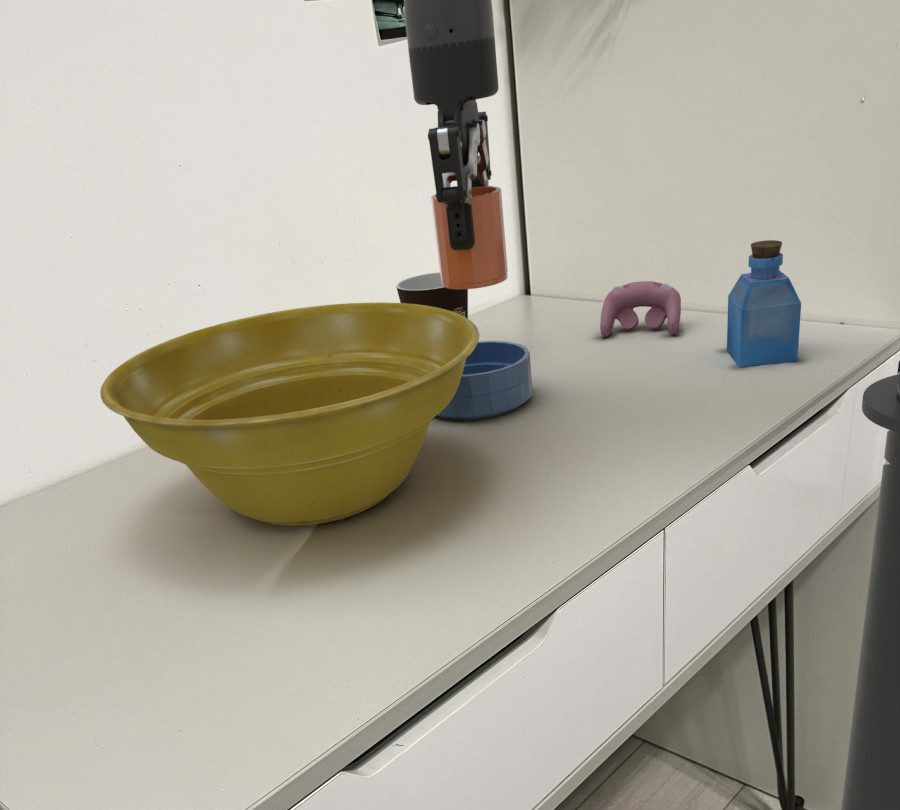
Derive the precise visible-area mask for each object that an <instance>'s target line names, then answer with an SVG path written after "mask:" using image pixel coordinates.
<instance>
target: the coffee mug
mask: <svg viewBox="0 0 900 810" xmlns="http://www.w3.org/2000/svg"><path fill="white" fill-rule="evenodd" d="M395 287H396V291H397V294H398V299H399V303H407V304H418V305H425V306H432V307H437V308H441V309H445V310H449V311H452V312H455V313H457V314H460V315H462V316H464V317H466V318H467V319H469V289H449V288H445V287H443V286H442V281H441V277H440V271H439V272H431V273H430V272H429V273H423V274H419V275H414V276H411V277H408V278H405V279H402V280H400V281H399V282H397V283H396V286H395Z"/></svg>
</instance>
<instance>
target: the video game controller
mask: <svg viewBox="0 0 900 810" xmlns="http://www.w3.org/2000/svg"><path fill="white" fill-rule="evenodd" d="M639 307H640V308H641V307H647V308H650V309H648V310H647V312H646V313H645V316H644V323H645V325H646V326H647V327H648V328H649V329H650V330H658V329H660V328H661V327H662V326H663V325H664V323H665V321H667V328H668V332H669V334H670V335H671V336H675V335H676V334H677V332H678V330H679V327H680V322H681V316H682V315H681V314H682V298H681V295H680V293H679V291H678V290H677V289H676V288H674V287H673V286H671V285H669V284H668V283H661V282H657V281H653V280H651V281H650V280H646V281H632V282H629V283H626V284H623V285H618V286H614V287H613V288H612V289H611V290H610V291H609V292H608V293H607V295H606V296H605V298H604V301H603V304H602V307H601V312H600V323H599V329H600V334H601V335H600V336H602V337H603V338H607V337H609V335H610V334H611V332H612V331H613V327H614V325H615V321H616V320H617V321H618V322H619V324H620V325H621V328H623V329H624V330H626V331H631V330H634V329H636V328H637V326H638V325H639V316H638V314H637V312H636V311H635V310H634V309H635V308H639Z"/></svg>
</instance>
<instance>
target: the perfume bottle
mask: <svg viewBox="0 0 900 810" xmlns="http://www.w3.org/2000/svg"><path fill="white" fill-rule="evenodd" d="M782 245H783V242H782V241H781V240H777V239H776V240H773V239H768V240H767V239H766V240H758V241H754V242H752V243H750V248H751V254H749V256H748V268H750V272H748V273H741V274H740V276H739V277H738V279H737V281H736V282H735V284H734V286H733V287H732V289H731V290H730V292H729V294H728V296H727V323H726V324H727V329H726V352H727V353H728V354H729V356H730V357H731V358H732V359H733V361H734V362H735V364H736V365H737V366H738V367H739V368H743V367H752V366H761V365H768V364H769V365H770V364H771V365H772V364H779V363H790V362H797V361H798V358H799V345H800V331H801V316H802V315H801V314H802V313H801V312H802V301H801V300H800V297H799V295H798V293H797V291H796V288H795V287H794V285H793V283H792V281H791V279H790V276H787V275H786V274H785V273H784V272H782V271H781V269H780V267H781V266H782V265H783V262H784V253H782V252H781V249H782Z"/></svg>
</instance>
